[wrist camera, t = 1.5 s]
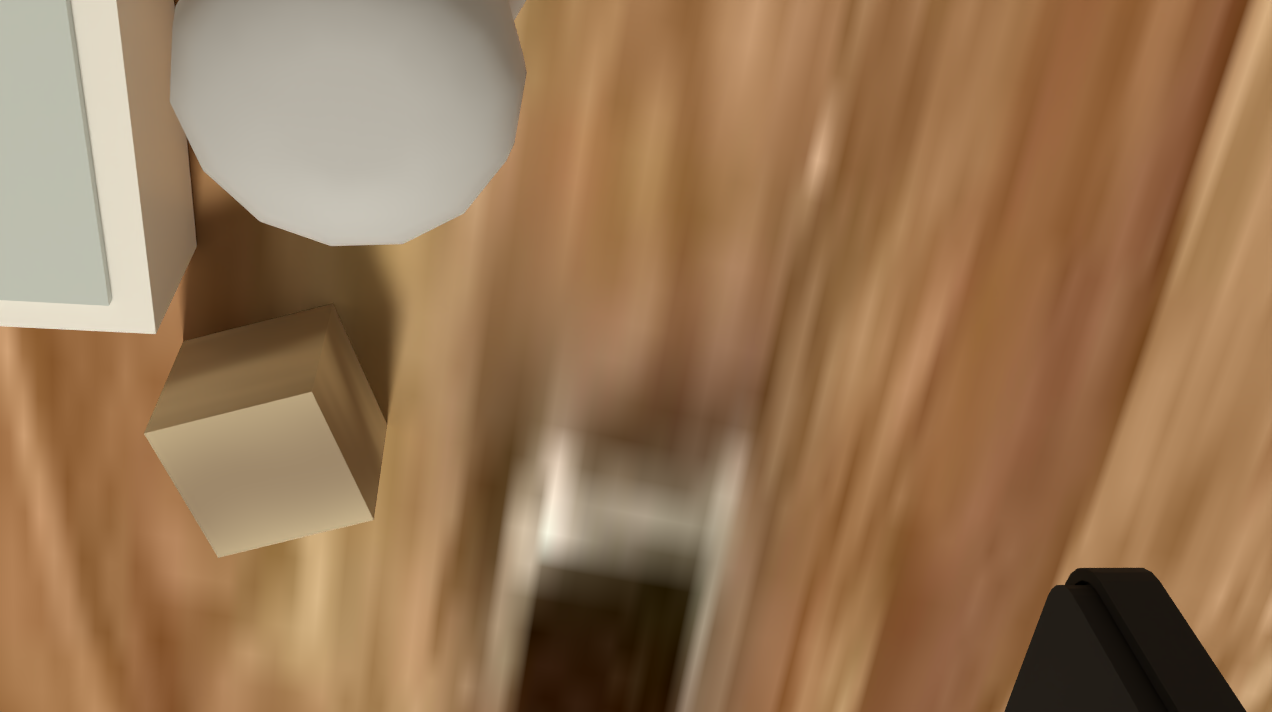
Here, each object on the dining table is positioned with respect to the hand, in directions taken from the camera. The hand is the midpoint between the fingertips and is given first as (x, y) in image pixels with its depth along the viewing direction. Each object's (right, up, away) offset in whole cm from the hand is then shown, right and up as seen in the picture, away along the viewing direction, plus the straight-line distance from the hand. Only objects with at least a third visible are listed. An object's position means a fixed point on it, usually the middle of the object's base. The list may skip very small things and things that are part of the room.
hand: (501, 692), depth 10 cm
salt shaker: (-4, +13, +15) cm, 20 cm away
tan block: (-8, +2, +21) cm, 23 cm away
